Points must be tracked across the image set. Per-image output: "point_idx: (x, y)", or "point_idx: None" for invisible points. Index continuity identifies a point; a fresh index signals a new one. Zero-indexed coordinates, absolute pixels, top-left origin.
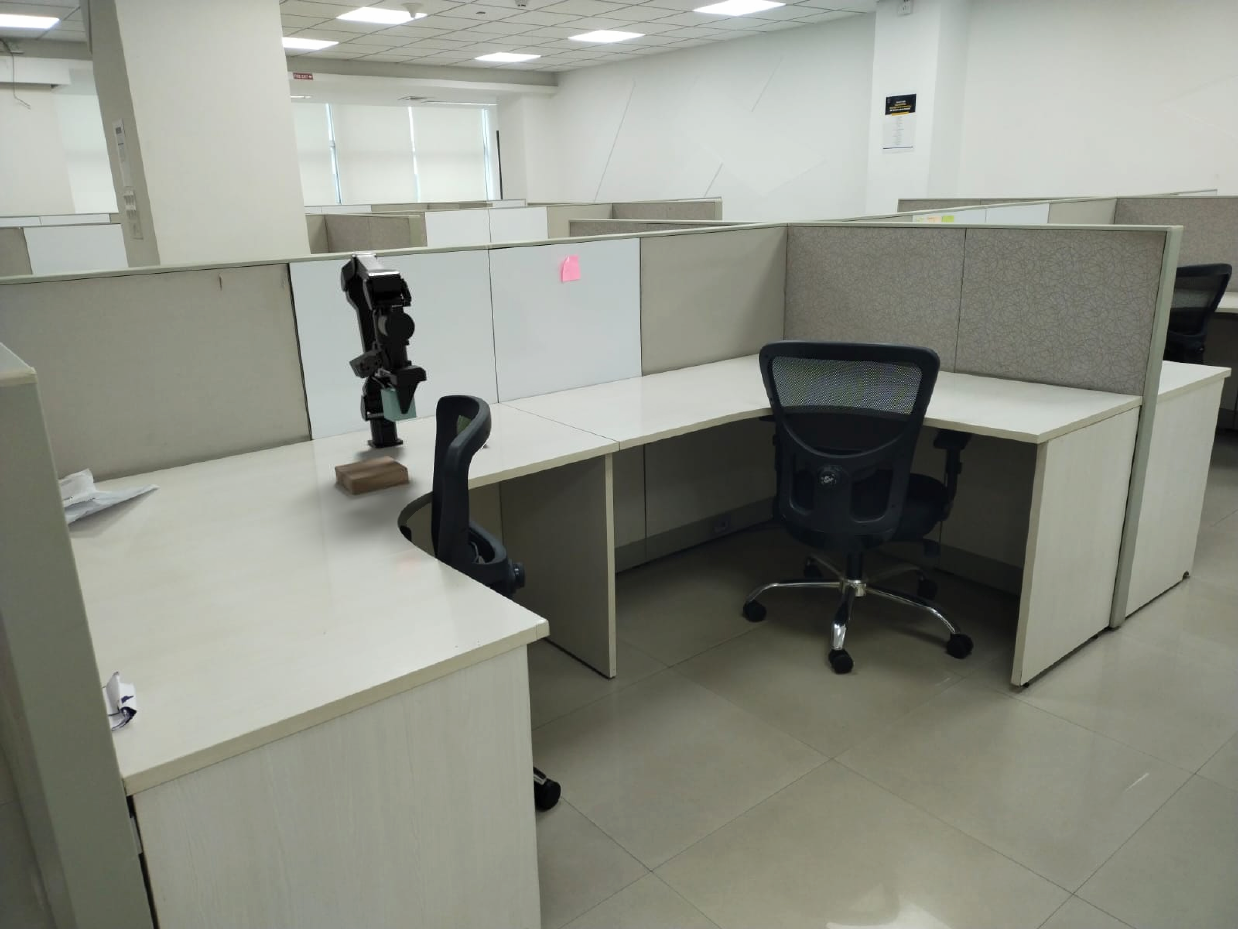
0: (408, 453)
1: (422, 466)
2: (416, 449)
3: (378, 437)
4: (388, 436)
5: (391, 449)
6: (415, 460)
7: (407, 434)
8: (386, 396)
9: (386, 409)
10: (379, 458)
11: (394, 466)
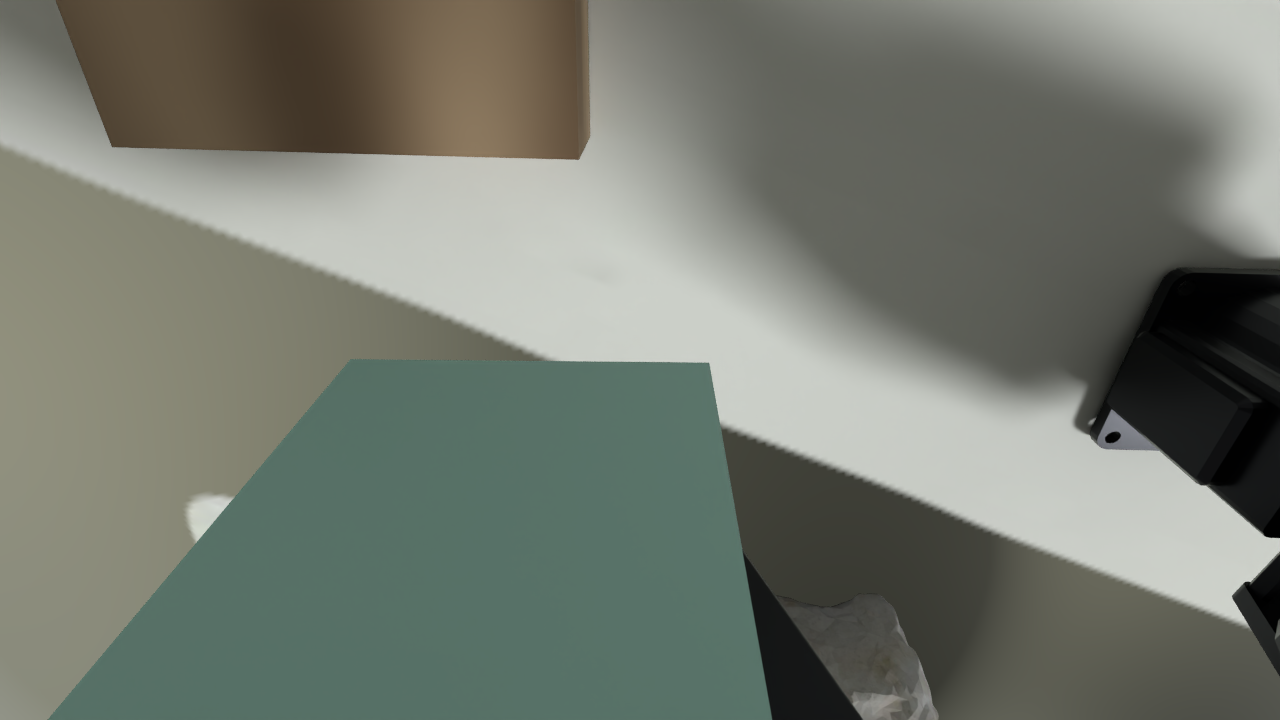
0: (858, 377)
1: (519, 333)
2: (894, 440)
3: (1246, 333)
4: (1164, 389)
5: (1047, 335)
6: (676, 351)
7: (1237, 518)
8: (367, 706)
9: (555, 452)
10: (545, 64)
11: (208, 75)
